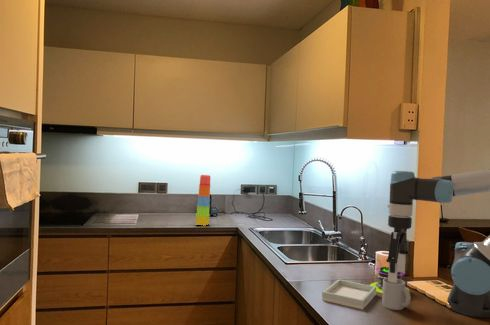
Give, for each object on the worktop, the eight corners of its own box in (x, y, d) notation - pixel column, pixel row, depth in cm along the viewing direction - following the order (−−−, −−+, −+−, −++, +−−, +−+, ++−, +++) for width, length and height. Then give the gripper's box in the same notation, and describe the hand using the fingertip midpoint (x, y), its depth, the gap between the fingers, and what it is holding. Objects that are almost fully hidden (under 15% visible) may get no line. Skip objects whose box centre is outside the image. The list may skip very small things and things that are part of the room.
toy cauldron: (364, 282, 169) (365, 255, 169) (401, 283, 169) (402, 256, 169) (376, 295, 154) (377, 266, 154) (416, 296, 154) (417, 267, 154)
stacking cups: (195, 223, 286) (196, 174, 285) (210, 224, 287) (211, 174, 285) (194, 226, 276) (195, 175, 274) (209, 227, 276) (210, 175, 275)
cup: (390, 301, 148) (391, 276, 148) (415, 310, 140) (416, 284, 140) (377, 305, 144) (378, 279, 144) (403, 314, 136) (404, 288, 136)
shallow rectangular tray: (376, 294, 154) (376, 286, 154) (362, 309, 139) (363, 300, 139) (338, 286, 162) (338, 279, 162) (322, 300, 147) (322, 291, 147)
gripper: (396, 210, 154) (393, 266, 154) (380, 219, 132) (376, 283, 133) (418, 212, 150) (414, 270, 150) (404, 222, 128) (400, 289, 129)
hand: (396, 276), depth 142 cm, fingers open, 13 cm apart
